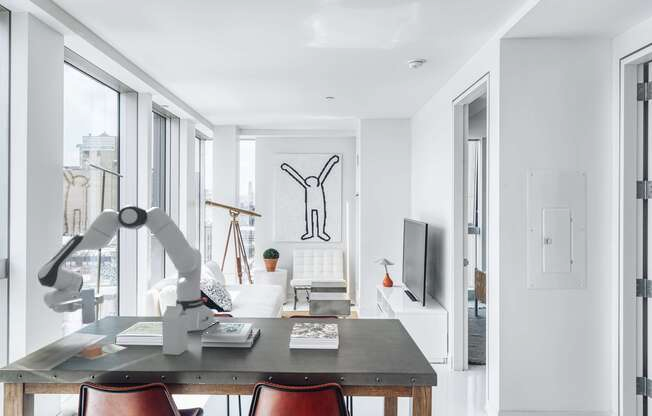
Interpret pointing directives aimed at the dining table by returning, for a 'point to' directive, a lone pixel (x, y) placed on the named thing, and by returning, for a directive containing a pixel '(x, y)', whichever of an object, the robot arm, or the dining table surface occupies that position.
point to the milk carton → (174, 330)
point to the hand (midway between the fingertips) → (89, 304)
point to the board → (104, 351)
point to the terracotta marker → (92, 350)
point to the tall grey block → (88, 305)
